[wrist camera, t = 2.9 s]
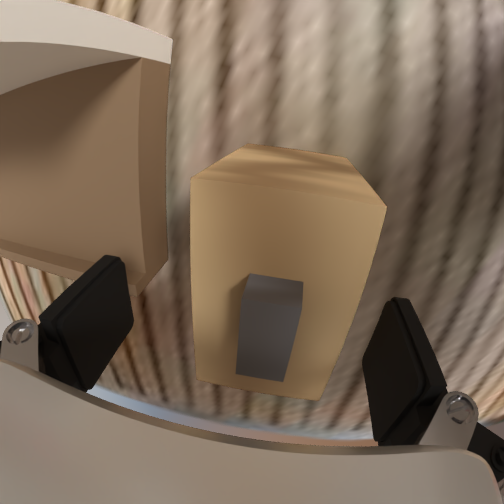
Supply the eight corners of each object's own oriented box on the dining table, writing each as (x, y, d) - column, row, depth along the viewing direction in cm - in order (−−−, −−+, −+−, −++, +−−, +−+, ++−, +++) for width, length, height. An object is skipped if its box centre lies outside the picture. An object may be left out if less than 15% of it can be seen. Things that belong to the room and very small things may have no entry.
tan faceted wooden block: (345, 157, 14) (400, 225, 6) (317, 293, 18) (316, 428, 10) (247, 143, 14) (171, 191, 6) (237, 281, 18) (187, 405, 10)
